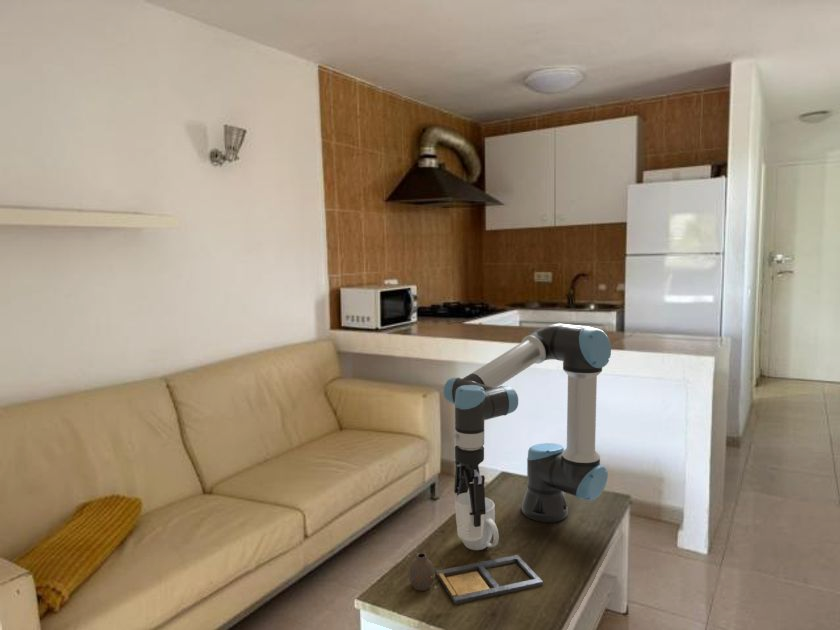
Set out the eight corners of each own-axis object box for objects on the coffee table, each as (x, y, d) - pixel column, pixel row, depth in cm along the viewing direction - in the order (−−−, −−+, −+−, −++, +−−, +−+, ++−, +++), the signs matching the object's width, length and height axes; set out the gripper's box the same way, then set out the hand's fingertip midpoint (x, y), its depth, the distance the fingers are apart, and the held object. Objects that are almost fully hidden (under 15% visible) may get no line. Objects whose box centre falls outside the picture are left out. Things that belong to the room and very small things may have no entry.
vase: (412, 596, 147) (412, 564, 146) (405, 581, 153) (405, 550, 152) (438, 591, 149) (438, 559, 148) (430, 576, 155) (430, 546, 154)
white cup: (449, 534, 150) (448, 498, 149) (468, 524, 156) (468, 489, 155) (471, 545, 145) (471, 508, 144) (491, 534, 150) (491, 498, 149)
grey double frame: (517, 557, 164) (517, 554, 164) (542, 585, 151) (542, 580, 151) (436, 574, 157) (436, 570, 156) (455, 604, 143) (455, 599, 143)
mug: (511, 552, 167) (511, 510, 166) (482, 565, 161) (482, 521, 159) (477, 531, 179) (478, 492, 178) (450, 542, 173) (450, 501, 171)
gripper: (442, 434, 156) (442, 514, 159) (472, 461, 137) (471, 551, 139) (467, 432, 158) (466, 510, 161) (500, 457, 139) (499, 546, 142)
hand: (469, 529), depth 150 cm, fingers closed on white cup, 8 cm apart
